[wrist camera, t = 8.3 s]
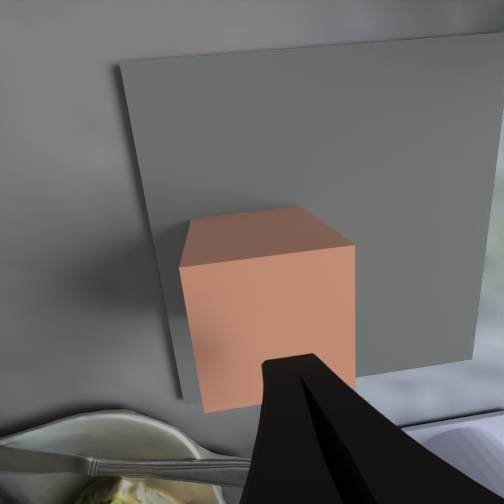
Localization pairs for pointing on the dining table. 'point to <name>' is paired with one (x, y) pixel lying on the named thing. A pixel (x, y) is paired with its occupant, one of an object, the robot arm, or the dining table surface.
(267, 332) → the peach foam cube
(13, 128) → the dining table surface
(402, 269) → the mat
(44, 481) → the salad plate
